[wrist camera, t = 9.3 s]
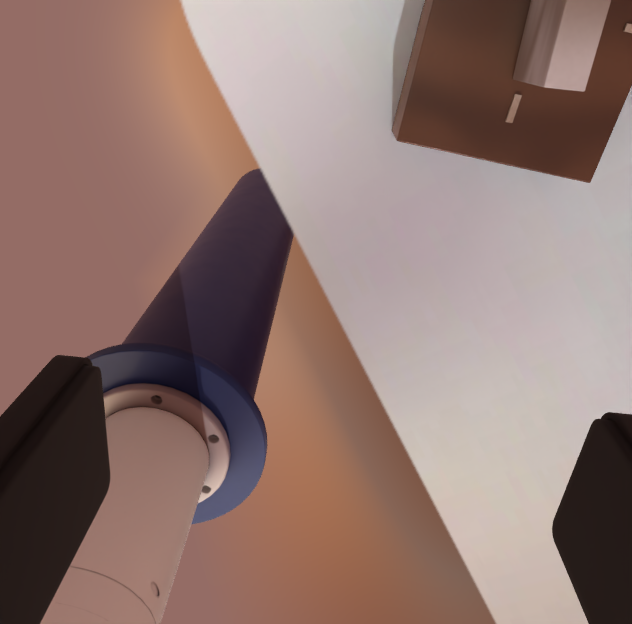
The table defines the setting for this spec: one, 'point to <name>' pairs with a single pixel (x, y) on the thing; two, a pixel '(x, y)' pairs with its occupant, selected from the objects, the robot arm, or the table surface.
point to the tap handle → (560, 43)
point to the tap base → (509, 90)
